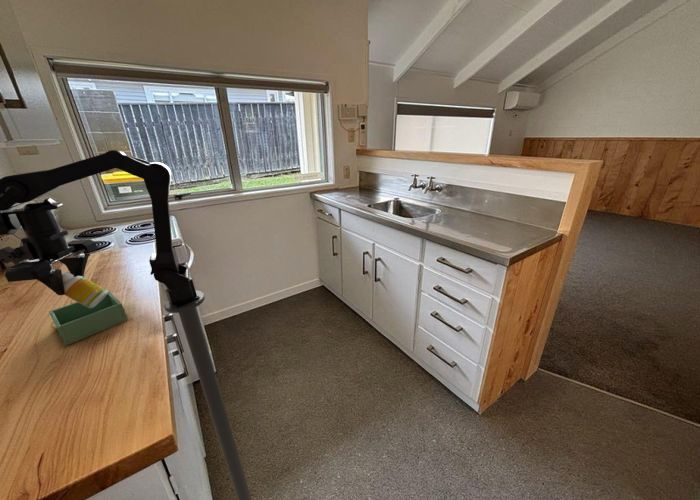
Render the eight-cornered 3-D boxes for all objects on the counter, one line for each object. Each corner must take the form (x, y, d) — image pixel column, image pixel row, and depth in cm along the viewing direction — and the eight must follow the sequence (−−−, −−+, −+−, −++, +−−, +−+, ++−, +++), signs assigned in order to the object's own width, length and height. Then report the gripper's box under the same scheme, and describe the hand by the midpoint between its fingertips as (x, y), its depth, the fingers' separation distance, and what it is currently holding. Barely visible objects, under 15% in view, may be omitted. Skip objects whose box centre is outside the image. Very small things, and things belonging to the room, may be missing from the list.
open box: (115, 306, 82) (109, 290, 80) (128, 319, 75) (121, 303, 73) (57, 328, 73) (48, 311, 71) (65, 345, 66) (56, 328, 64)
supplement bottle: (109, 289, 72) (69, 267, 69) (90, 307, 69) (47, 284, 66) (109, 293, 76) (71, 272, 73) (91, 310, 73) (51, 289, 70)
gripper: (40, 221, 73) (66, 275, 79) (-44, 247, 56) (-3, 314, 61) (87, 218, 74) (109, 271, 80) (18, 243, 57) (52, 308, 63)
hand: (71, 289), depth 71 cm, fingers closed on supplement bottle, 5 cm apart
